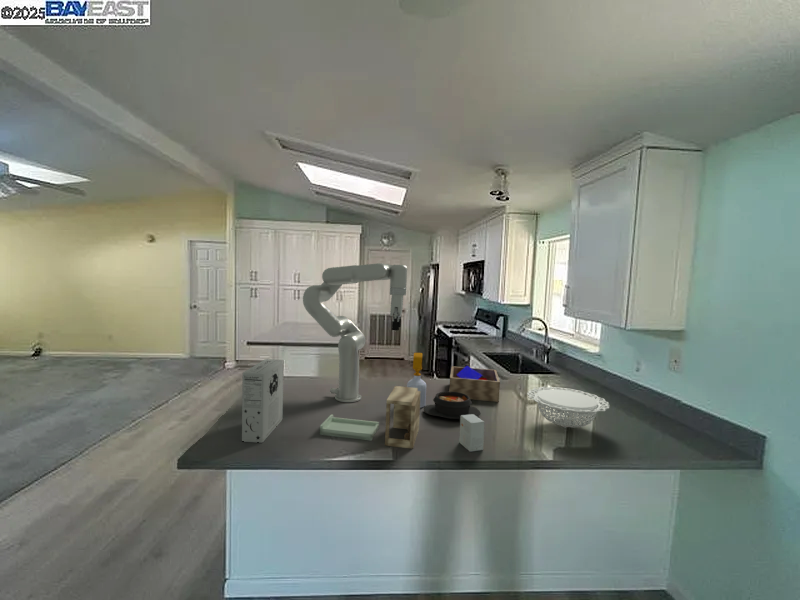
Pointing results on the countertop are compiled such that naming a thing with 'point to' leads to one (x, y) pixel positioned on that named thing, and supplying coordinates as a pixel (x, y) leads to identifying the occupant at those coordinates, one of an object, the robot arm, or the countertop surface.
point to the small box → (471, 432)
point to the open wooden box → (476, 385)
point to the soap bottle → (418, 378)
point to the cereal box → (262, 400)
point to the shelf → (403, 415)
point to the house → (470, 374)
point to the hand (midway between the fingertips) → (396, 328)
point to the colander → (567, 405)
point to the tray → (349, 428)
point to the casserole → (451, 405)
